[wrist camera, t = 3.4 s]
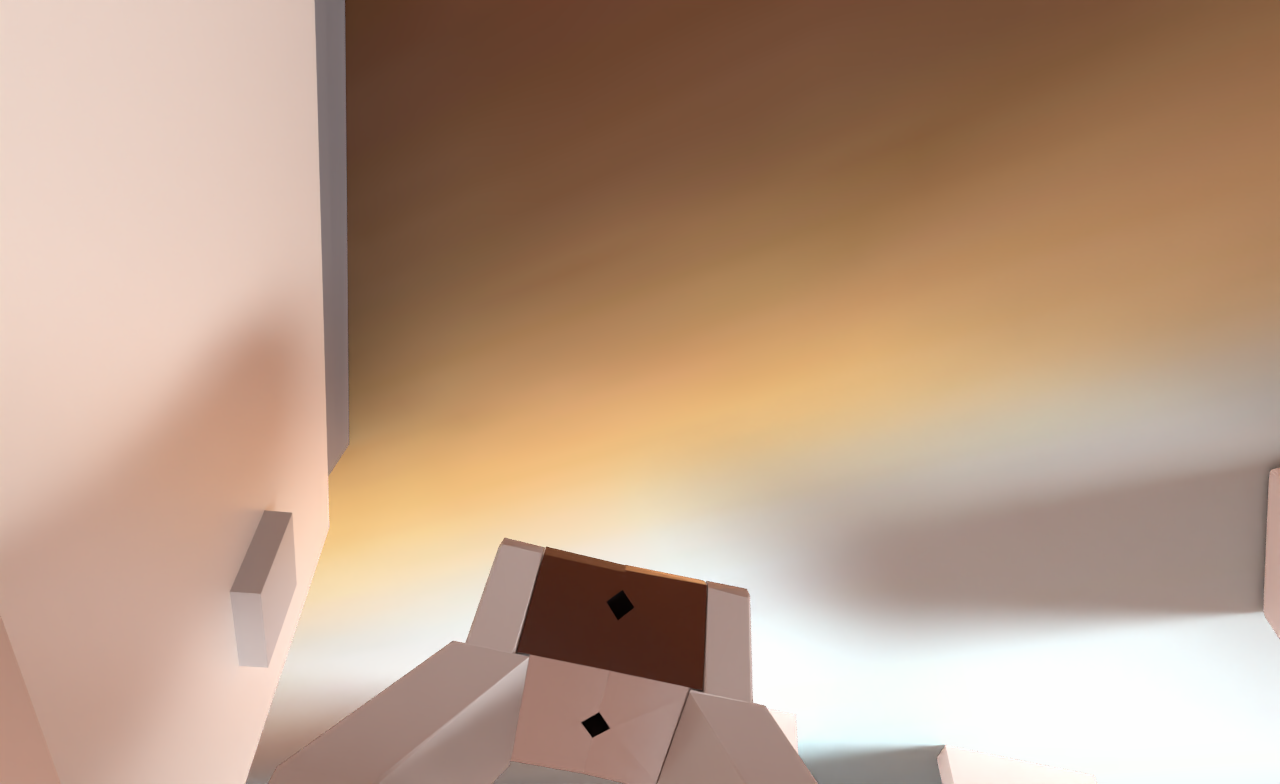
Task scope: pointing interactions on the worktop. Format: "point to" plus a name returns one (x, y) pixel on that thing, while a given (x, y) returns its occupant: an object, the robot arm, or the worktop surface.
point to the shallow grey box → (333, 217)
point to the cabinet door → (156, 381)
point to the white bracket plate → (973, 764)
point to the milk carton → (1273, 554)
